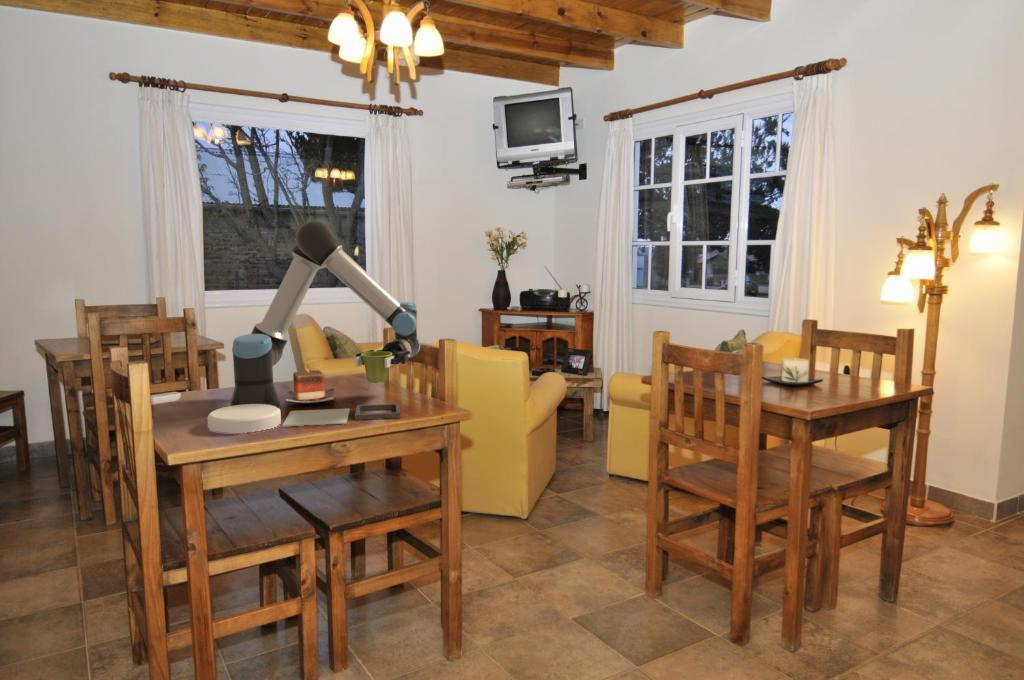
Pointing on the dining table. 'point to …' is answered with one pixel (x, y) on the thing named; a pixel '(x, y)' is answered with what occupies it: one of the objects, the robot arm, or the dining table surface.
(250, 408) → the container
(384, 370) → the plant pot
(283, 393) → the dining table surface
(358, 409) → the pot collar
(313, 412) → the sage mat
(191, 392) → the dining table surface
